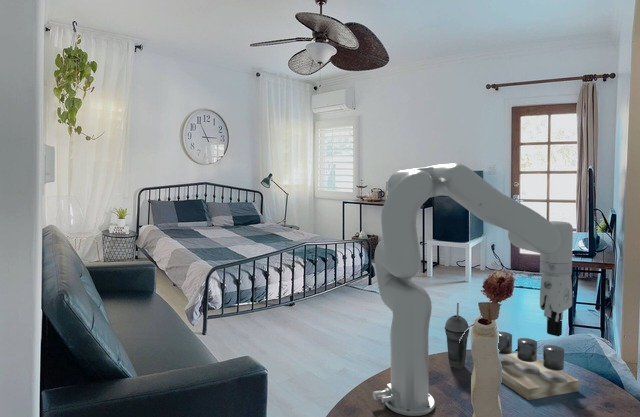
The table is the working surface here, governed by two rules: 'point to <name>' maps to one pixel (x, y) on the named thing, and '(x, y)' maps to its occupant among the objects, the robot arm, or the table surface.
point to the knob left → (505, 343)
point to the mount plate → (535, 378)
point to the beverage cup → (456, 340)
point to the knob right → (553, 357)
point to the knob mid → (527, 350)
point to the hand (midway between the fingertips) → (554, 334)
